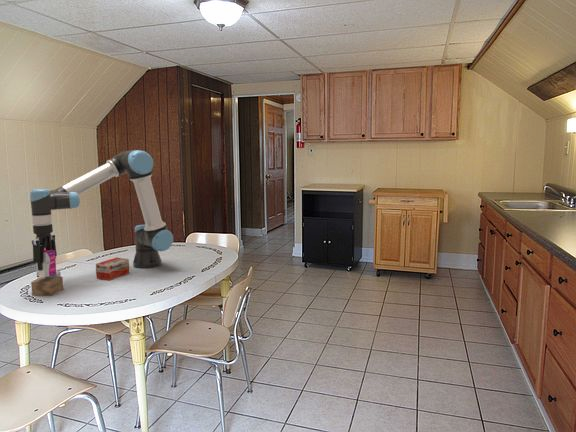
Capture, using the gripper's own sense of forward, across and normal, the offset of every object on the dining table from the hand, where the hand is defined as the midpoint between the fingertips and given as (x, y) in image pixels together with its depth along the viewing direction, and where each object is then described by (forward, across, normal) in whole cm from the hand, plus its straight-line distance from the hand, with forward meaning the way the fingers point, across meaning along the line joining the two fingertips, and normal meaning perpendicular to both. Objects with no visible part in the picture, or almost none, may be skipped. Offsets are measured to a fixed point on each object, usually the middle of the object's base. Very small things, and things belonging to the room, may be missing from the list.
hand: (46, 274), depth 195 cm
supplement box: (+1, 0, 0) cm, 1 cm away
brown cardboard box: (+8, 0, 0) cm, 8 cm away
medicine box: (+9, -27, +18) cm, 34 cm away
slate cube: (+8, -10, -4) cm, 14 cm away
